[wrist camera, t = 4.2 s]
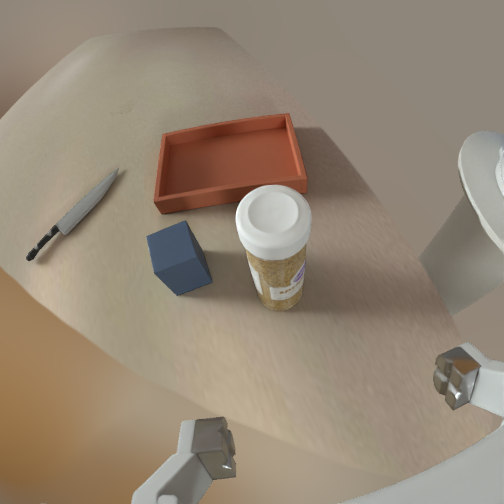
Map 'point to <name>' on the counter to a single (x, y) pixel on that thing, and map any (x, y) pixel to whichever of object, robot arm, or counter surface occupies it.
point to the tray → (227, 162)
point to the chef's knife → (76, 213)
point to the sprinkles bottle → (275, 242)
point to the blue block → (178, 258)
